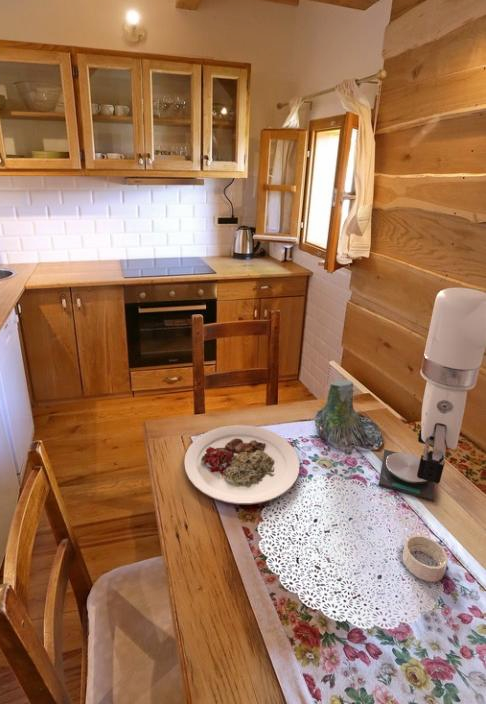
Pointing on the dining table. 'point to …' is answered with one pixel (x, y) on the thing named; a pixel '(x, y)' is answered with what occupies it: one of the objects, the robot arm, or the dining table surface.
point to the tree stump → (346, 421)
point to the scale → (404, 483)
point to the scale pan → (404, 467)
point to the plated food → (241, 464)
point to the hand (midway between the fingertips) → (427, 460)
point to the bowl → (429, 548)
